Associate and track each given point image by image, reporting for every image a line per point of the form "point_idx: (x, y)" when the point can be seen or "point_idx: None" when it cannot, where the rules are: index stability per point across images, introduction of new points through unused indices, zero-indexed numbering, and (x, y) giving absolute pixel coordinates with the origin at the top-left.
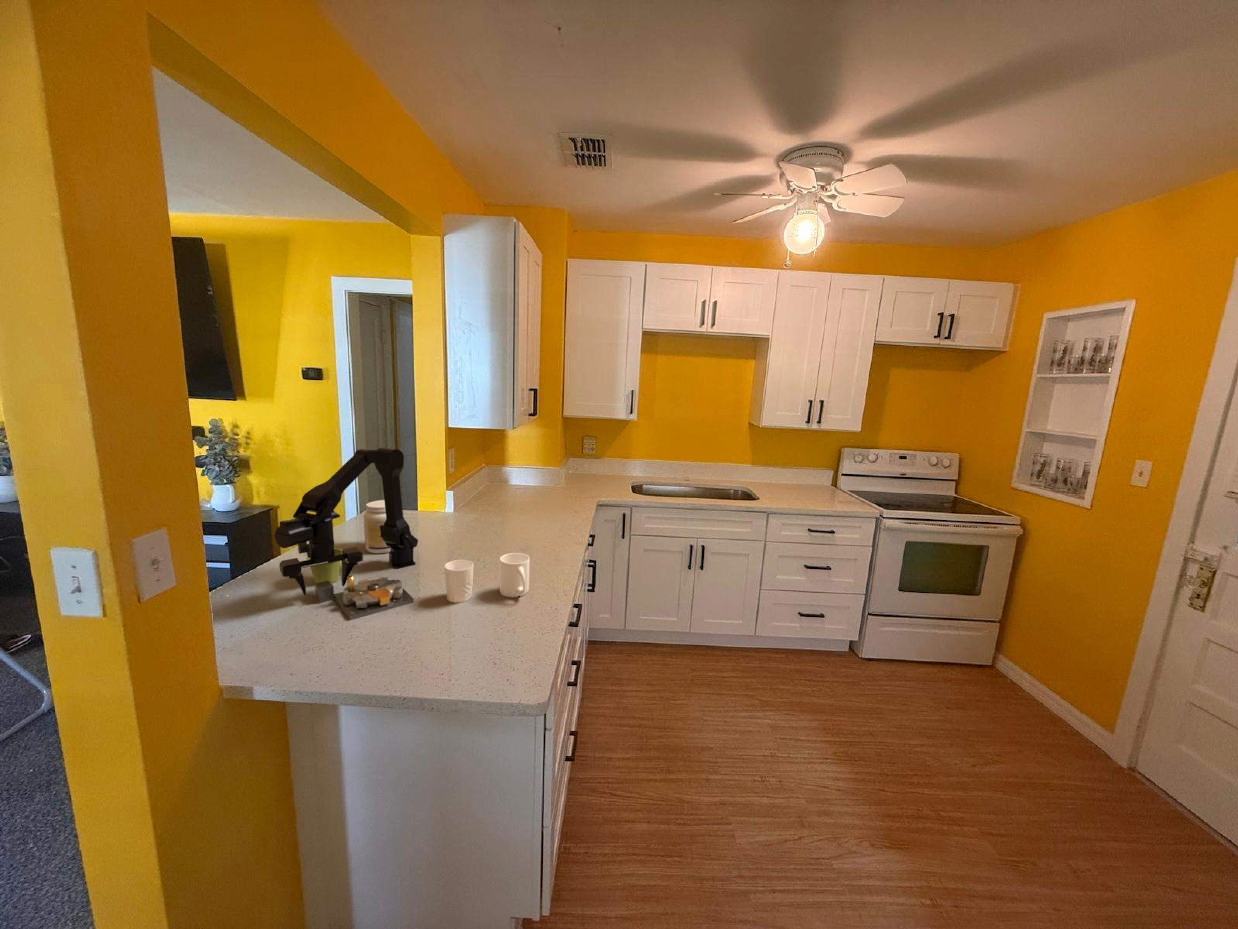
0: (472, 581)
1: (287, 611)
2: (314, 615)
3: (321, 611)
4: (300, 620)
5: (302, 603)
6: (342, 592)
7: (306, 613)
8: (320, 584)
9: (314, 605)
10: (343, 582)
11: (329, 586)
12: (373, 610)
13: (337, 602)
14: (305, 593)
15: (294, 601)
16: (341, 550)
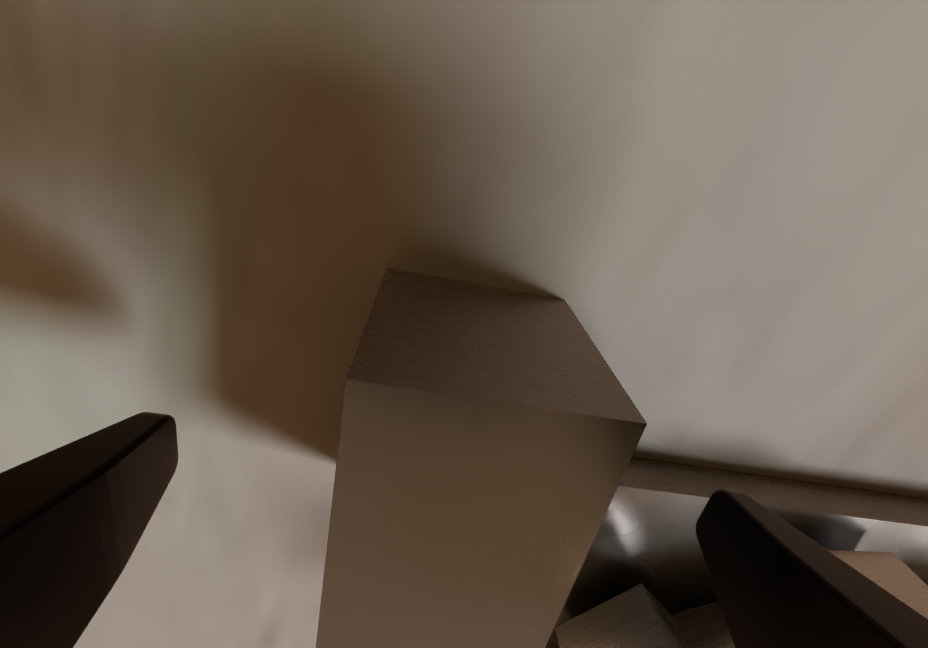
0: None
1: (16, 427)
2: (247, 632)
3: (316, 610)
4: (130, 639)
5: (199, 346)
6: (627, 501)
7: (195, 571)
8: (427, 497)
9: (301, 478)
10: (728, 623)
11: (498, 637)
12: None
13: None
14: (148, 503)
15: (109, 203)
16: None
